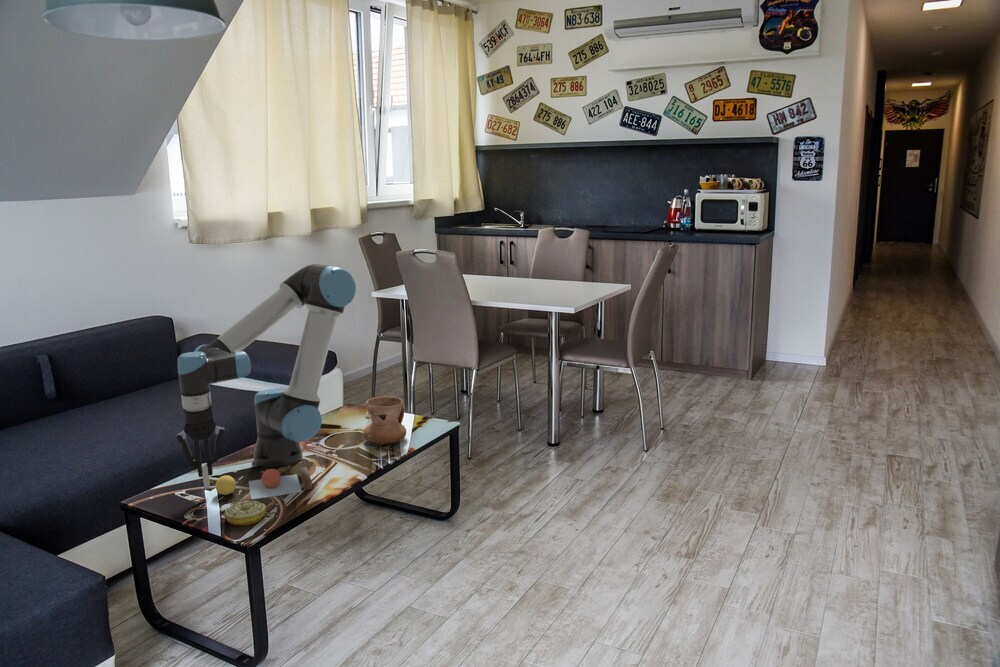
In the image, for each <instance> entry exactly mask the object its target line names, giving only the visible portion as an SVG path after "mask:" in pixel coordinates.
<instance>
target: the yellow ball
mask: <svg viewBox="0 0 1000 667" xmlns="http://www.w3.org/2000/svg"><path fill="white" fill-rule="evenodd" d="M236 485H237V483H236V480H235V478H234V477H232V476H231V475H227V474H226V475H222V476H220V477H219V478H218V479H217V480H216V481H215V490H216V492H217V493H218V494H220V495H222V496H227V495H230V494H232V493H233V492H234V491H235V489H236Z"/></svg>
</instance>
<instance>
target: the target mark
mask: <svg viewBox="0 0 1000 667" xmlns="http://www.w3.org/2000/svg"><path fill="white" fill-rule="evenodd" d="M248 488H249V492H250V501H254V500H258V499H265V498H271V497H278V496H284V495H285V494H286V495H291V493H292V494H298V493H303V490H302V487H301V485H300V480H299V478H298V475H297V473H296V474H290V475H281V481H280V483H279V484H278V485H277V486H276V487H274V488H268V487H266V486H264V485H263V483H262V480H261V479H254V480H248Z"/></svg>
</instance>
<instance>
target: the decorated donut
mask: <svg viewBox="0 0 1000 667" xmlns="http://www.w3.org/2000/svg"><path fill="white" fill-rule="evenodd" d="M266 512H267V506H266V504H264V503H263V502H261V501H257V500H244V501H243V500H242V501H237V502H235V503H233V504H232V505H231V504H230V506H229V507H227V508H226V509H225V511H224V517H225V519H226V521H227V523H229V524H230V525H233V526H239V527H242V526H243V527H244V526H249V525H252V524H253V525H254V524H256V523H258V522H260V521H261V520H262V519H263V518H264V517H265V515H266Z"/></svg>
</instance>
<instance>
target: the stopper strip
mask: <svg viewBox="0 0 1000 667" xmlns="http://www.w3.org/2000/svg"><path fill="white" fill-rule="evenodd" d="M299 474H300V475H299V476H300V479H301V482H302V485H303V488H304V490H305V491H309V490H313V484H312V479H311V476H310V473H309V470H308V467H307V466H304V467H299Z"/></svg>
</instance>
